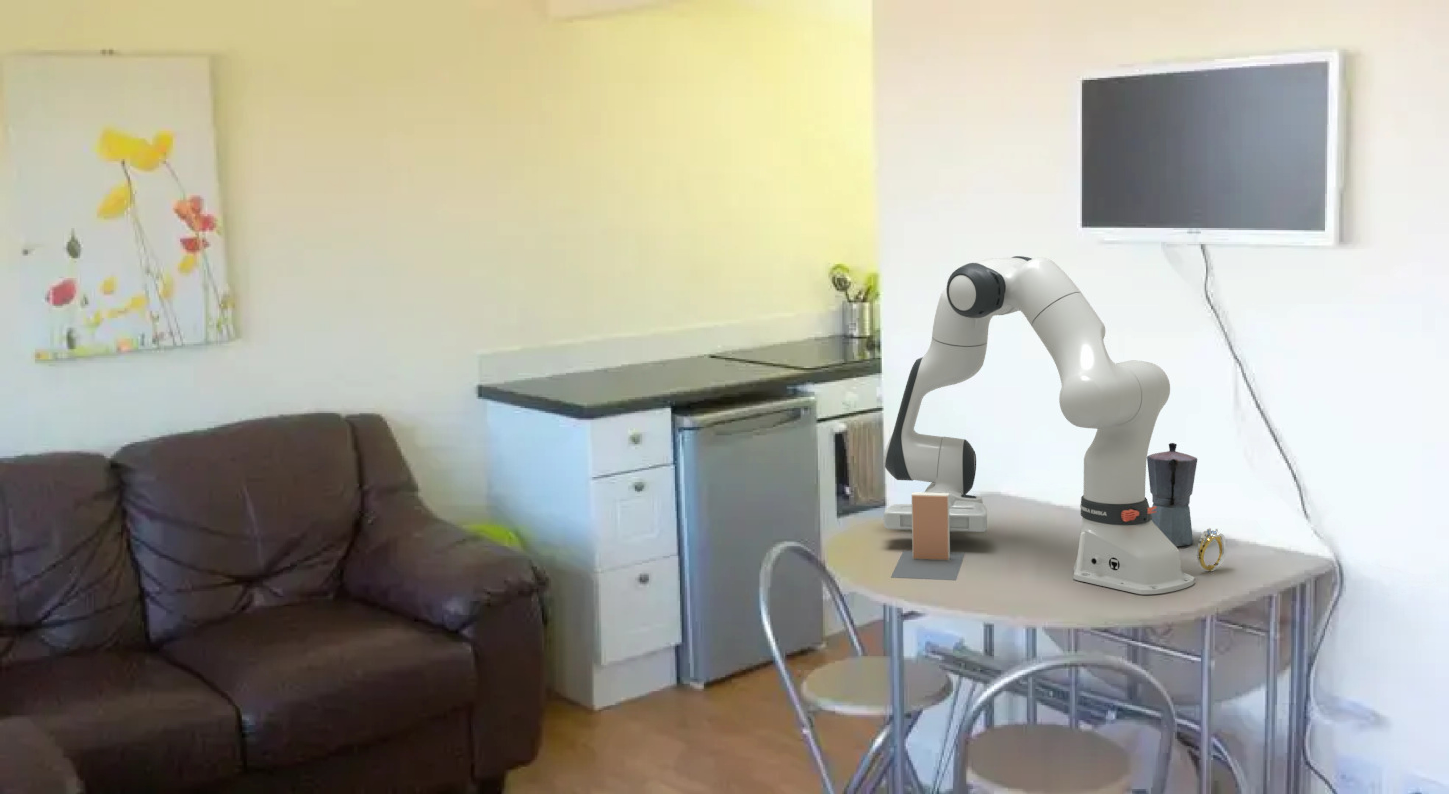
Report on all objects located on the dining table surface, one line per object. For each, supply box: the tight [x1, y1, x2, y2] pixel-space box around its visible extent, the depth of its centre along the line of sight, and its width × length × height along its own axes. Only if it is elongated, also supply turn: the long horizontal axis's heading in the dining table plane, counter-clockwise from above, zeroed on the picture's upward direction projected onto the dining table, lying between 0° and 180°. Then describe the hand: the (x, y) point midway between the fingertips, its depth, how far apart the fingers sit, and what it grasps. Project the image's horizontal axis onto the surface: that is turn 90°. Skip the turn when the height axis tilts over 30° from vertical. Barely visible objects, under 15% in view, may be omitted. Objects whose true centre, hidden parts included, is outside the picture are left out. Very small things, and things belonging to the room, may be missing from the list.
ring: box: [1196, 527, 1227, 572], centre depth 283 cm, size 7×3×8 cm, turn 119°
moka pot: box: [1146, 442, 1198, 547], centre depth 302 cm, size 10×15×20 cm, turn 170°
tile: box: [911, 491, 951, 560], centre depth 294 cm, size 2×7×13 cm, turn 76°
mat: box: [890, 550, 966, 581], centre depth 291 cm, size 19×12×1 cm, turn 166°
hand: (931, 527), depth 295 cm, fingers closed
